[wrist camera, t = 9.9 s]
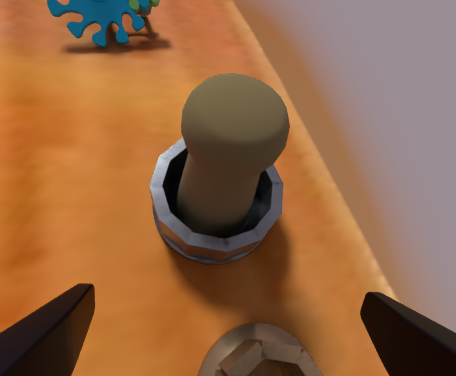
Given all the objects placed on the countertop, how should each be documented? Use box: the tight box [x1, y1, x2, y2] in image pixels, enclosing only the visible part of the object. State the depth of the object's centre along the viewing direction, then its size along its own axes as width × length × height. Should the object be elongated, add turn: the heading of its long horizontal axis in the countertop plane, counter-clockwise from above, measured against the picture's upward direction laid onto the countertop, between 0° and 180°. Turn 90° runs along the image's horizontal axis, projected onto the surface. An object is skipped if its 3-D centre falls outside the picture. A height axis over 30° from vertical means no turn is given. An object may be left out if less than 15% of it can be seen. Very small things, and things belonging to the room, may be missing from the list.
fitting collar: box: [149, 138, 283, 264], centre depth 20 cm, size 10×10×4 cm
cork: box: [175, 73, 290, 239], centre depth 16 cm, size 6×6×11 cm
